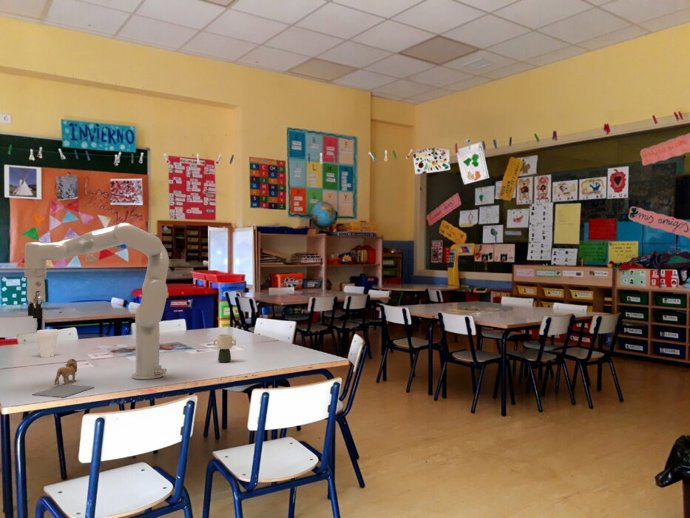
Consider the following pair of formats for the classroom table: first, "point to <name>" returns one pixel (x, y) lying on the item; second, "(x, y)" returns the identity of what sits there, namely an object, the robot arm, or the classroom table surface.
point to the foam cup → (47, 342)
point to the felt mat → (63, 390)
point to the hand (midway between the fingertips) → (35, 316)
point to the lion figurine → (67, 371)
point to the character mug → (224, 346)
